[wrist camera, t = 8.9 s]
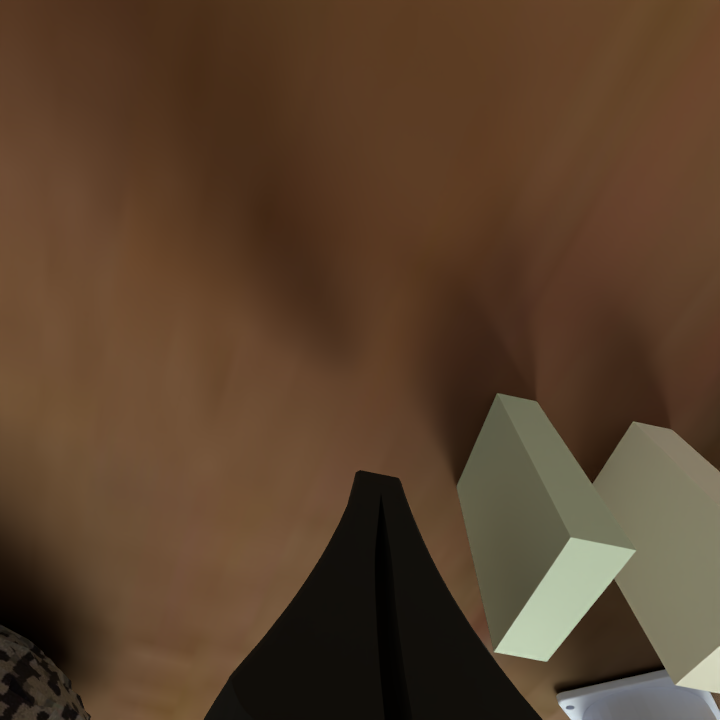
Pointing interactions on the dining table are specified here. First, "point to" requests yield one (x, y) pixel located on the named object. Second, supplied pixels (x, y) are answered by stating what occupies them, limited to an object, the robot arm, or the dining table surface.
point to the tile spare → (535, 531)
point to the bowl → (33, 684)
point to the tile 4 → (669, 548)
